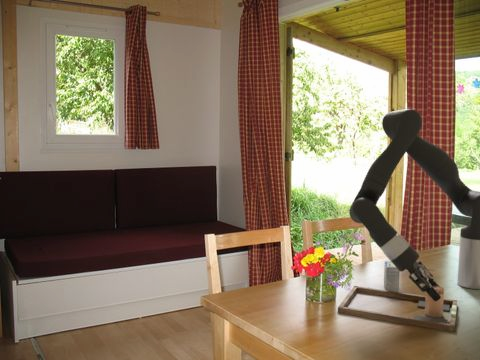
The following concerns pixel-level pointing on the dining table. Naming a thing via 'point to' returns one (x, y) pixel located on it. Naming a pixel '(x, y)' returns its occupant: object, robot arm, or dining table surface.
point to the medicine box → (391, 277)
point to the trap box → (396, 318)
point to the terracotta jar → (434, 304)
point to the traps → (422, 305)
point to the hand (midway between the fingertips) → (439, 295)
